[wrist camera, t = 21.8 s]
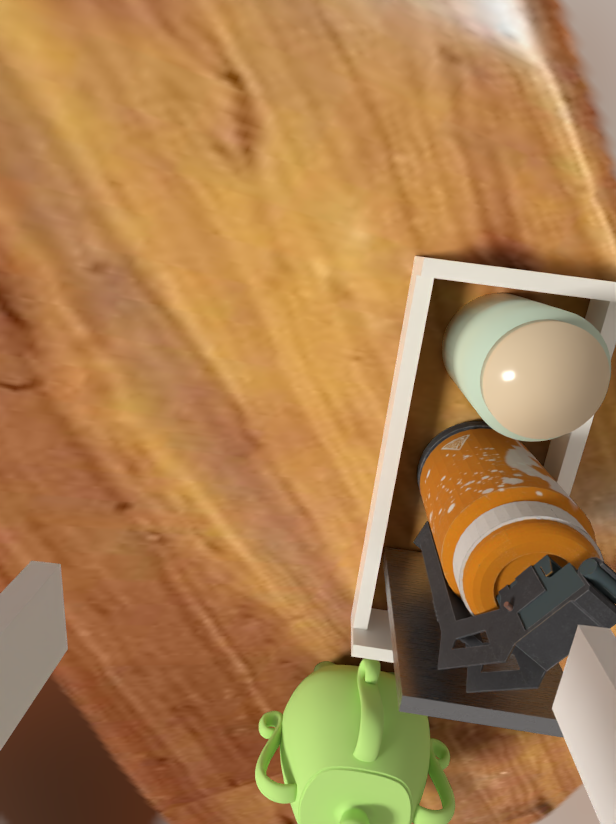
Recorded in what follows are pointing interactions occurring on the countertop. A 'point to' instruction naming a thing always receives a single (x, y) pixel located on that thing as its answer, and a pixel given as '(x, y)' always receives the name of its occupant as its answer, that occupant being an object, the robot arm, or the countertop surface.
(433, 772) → the teapot
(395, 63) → the countertop surface
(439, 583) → the canister
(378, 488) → the white rectangular frame
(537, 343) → the jar
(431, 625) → the panel
